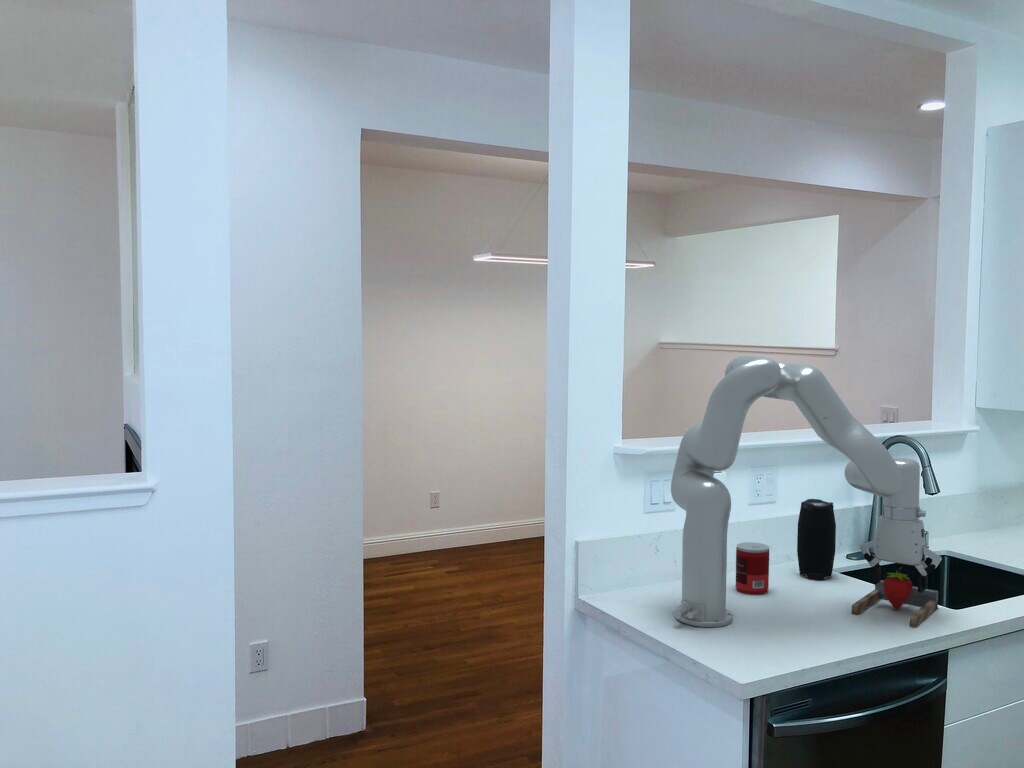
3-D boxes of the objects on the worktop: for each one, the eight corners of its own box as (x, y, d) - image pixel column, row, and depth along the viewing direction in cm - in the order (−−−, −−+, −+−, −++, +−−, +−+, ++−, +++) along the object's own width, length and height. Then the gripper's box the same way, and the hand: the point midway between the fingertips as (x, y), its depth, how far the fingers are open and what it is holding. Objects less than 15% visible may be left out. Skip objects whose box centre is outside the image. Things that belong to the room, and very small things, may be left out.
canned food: (773, 589, 203) (774, 545, 202) (760, 597, 197) (761, 551, 196) (744, 583, 208) (745, 540, 207) (730, 590, 202) (730, 546, 201)
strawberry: (917, 608, 189) (918, 565, 189) (903, 616, 184) (905, 572, 183) (890, 602, 193) (892, 560, 193) (877, 609, 188) (878, 566, 188)
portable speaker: (841, 578, 212) (843, 503, 211) (812, 582, 209) (814, 506, 207) (817, 569, 220) (820, 497, 219) (789, 573, 217) (791, 499, 215)
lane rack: (915, 627, 177) (915, 609, 177) (851, 613, 186) (851, 596, 185) (937, 608, 189) (938, 591, 189) (876, 595, 198) (877, 579, 198)
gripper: (946, 515, 184) (944, 590, 185) (866, 505, 196) (865, 576, 197) (937, 521, 179) (935, 599, 180) (855, 510, 190) (854, 583, 191)
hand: (898, 587), depth 188 cm, fingers open, 9 cm apart
